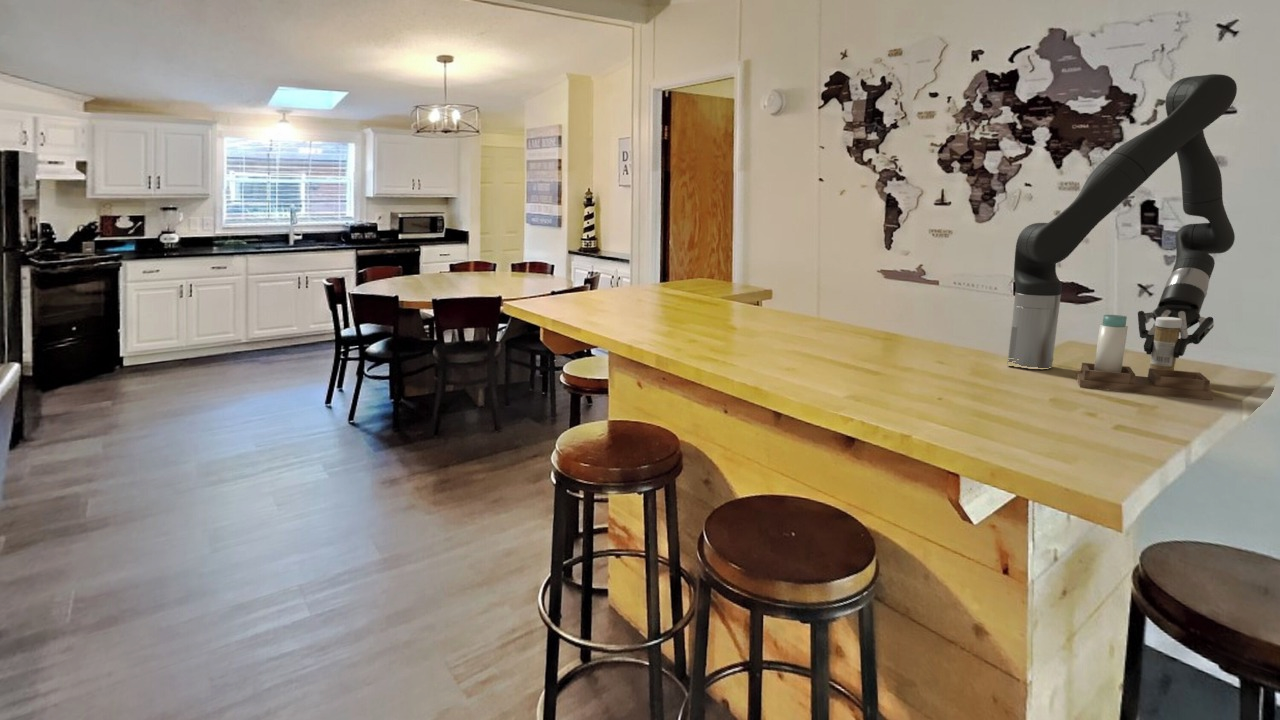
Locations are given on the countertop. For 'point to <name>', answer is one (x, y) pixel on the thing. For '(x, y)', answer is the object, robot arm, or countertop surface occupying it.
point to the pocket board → (1147, 382)
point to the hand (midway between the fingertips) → (1162, 353)
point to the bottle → (1111, 344)
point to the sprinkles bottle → (1165, 343)
